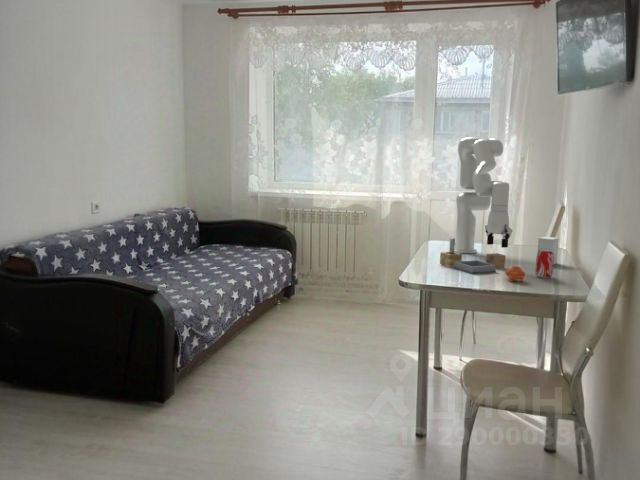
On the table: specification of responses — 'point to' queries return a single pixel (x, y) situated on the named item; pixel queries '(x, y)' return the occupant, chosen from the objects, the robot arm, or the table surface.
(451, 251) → the cylinder
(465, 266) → the tray
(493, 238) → the robot arm
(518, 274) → the pot
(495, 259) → the walnut block
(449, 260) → the oak block
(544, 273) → the soda can
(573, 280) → the table surface
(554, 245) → the supplement box
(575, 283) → the table surface
